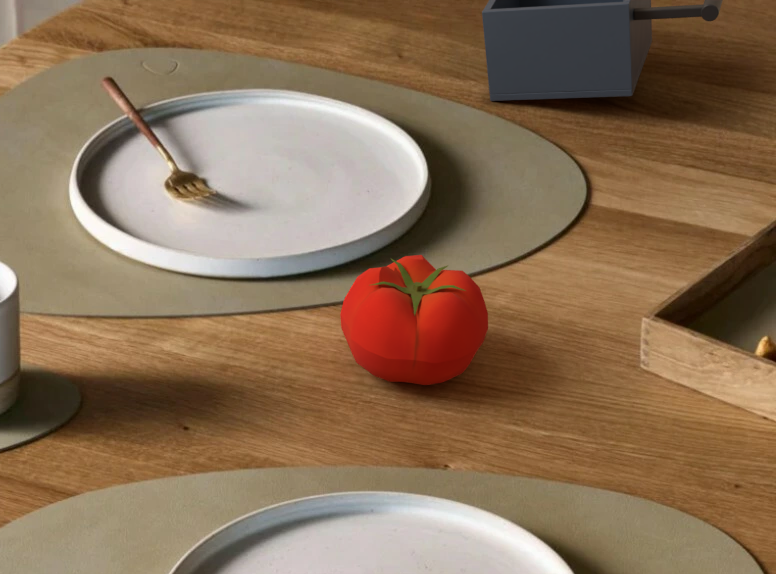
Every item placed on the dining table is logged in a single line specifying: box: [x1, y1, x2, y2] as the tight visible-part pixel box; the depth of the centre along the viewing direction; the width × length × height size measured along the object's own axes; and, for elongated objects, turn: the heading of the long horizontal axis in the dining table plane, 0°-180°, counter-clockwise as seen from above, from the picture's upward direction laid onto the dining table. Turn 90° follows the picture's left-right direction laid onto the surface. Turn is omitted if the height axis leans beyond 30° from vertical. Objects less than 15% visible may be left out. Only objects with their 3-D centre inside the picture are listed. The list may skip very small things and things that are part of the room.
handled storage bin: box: [481, 0, 724, 102], centre depth 150 cm, size 22×14×9 cm, turn 71°
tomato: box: [339, 254, 489, 386], centre depth 113 cm, size 11×11×8 cm
